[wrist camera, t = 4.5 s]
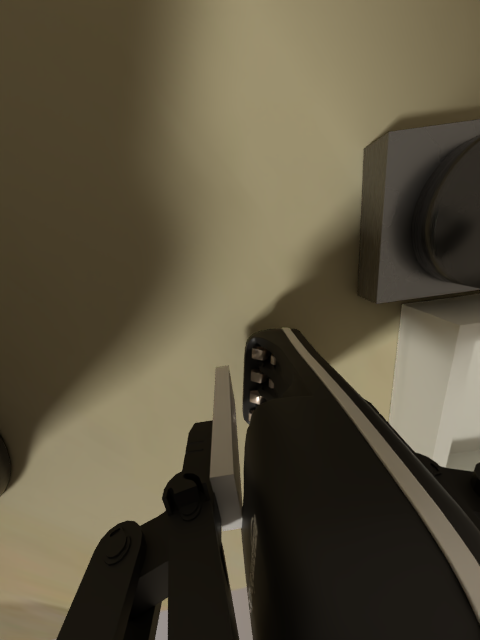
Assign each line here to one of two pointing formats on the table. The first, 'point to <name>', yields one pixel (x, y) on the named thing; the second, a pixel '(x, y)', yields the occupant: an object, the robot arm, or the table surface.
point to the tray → (439, 380)
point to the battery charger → (344, 513)
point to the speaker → (421, 213)
